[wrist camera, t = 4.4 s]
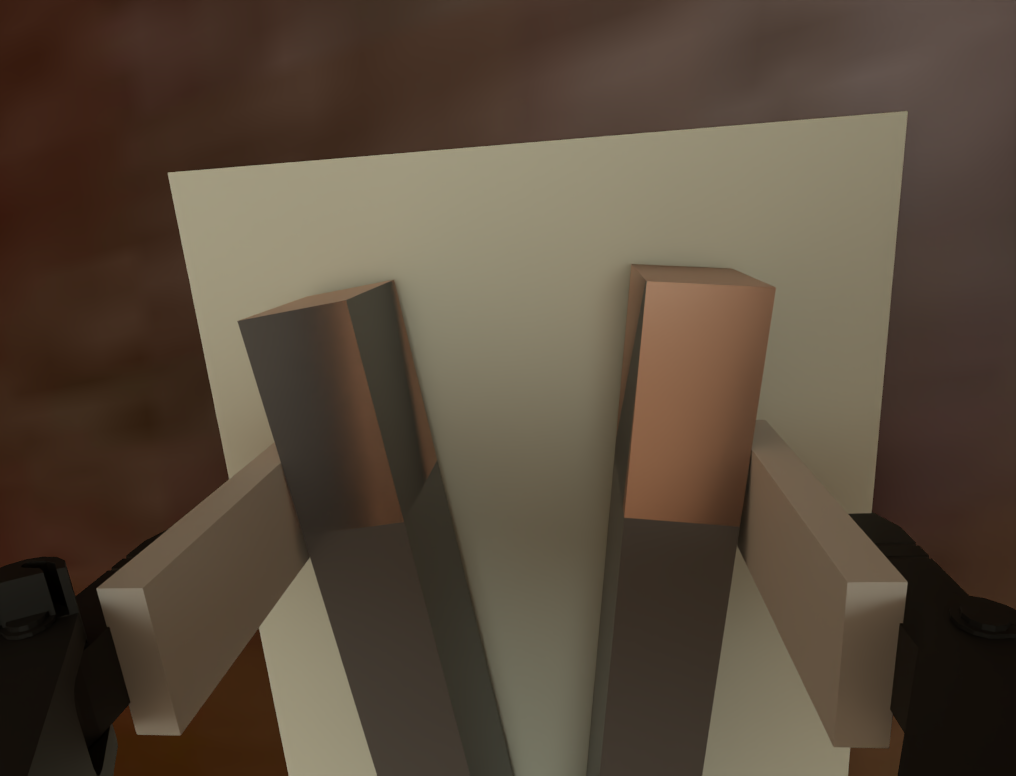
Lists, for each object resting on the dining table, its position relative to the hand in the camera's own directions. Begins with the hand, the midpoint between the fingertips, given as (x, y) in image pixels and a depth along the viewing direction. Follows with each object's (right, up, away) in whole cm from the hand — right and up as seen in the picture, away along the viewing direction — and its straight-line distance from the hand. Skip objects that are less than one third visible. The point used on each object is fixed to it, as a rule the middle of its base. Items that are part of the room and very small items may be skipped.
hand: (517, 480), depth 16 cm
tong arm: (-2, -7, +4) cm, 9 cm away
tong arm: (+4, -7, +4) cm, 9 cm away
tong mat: (+1, -7, +5) cm, 9 cm away
